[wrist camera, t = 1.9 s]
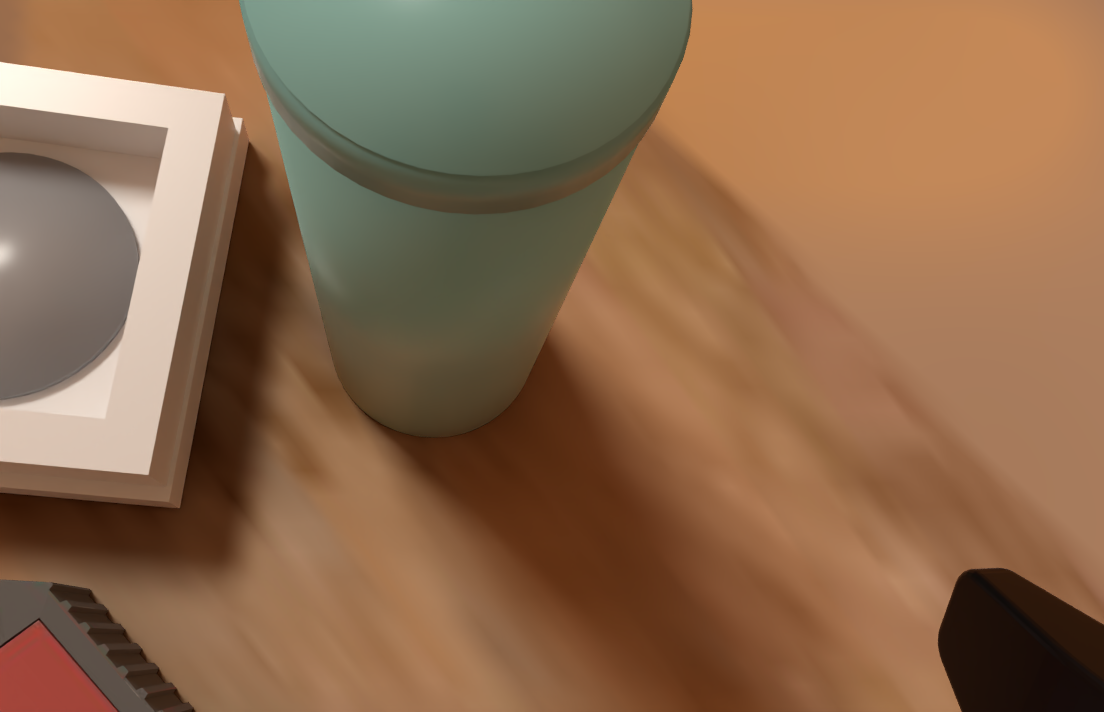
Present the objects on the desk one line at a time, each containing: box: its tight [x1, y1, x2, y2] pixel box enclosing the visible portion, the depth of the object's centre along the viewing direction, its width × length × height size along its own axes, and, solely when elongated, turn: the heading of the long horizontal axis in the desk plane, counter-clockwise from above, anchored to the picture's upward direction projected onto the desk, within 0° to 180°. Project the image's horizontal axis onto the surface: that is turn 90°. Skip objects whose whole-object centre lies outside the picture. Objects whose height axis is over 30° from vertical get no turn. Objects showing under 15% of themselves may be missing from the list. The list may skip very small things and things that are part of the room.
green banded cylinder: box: [239, 0, 692, 438], centre depth 16 cm, size 5×5×13 cm
